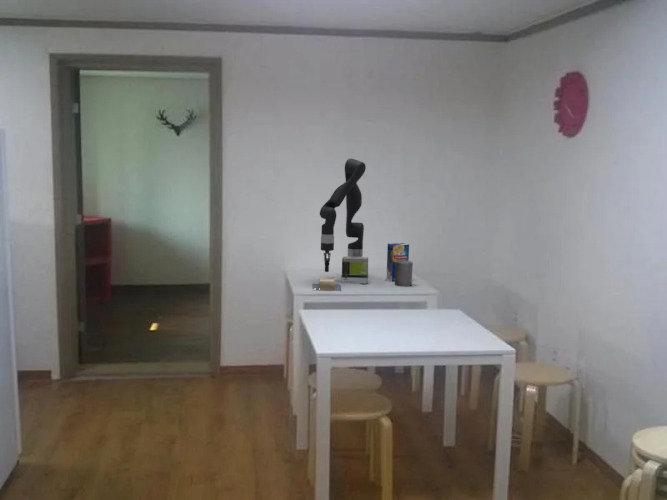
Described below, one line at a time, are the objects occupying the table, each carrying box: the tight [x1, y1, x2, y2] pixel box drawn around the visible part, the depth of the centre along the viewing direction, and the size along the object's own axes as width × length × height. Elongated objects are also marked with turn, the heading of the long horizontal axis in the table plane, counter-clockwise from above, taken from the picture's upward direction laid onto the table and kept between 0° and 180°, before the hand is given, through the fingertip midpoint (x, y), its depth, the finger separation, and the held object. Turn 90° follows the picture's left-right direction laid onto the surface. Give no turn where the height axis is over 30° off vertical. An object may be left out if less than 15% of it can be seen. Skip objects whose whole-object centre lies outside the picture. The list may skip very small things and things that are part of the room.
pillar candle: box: [394, 259, 414, 287], centre depth 419 cm, size 10×10×15 cm
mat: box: [311, 283, 342, 292], centre depth 405 cm, size 20×16×1 cm
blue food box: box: [385, 242, 410, 283], centre depth 433 cm, size 7×11×22 cm, turn 116°
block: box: [318, 276, 336, 292], centre depth 402 cm, size 5×8×13 cm
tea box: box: [341, 256, 369, 285], centre depth 424 cm, size 15×10×15 cm
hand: (326, 271), depth 416 cm, fingers closed
